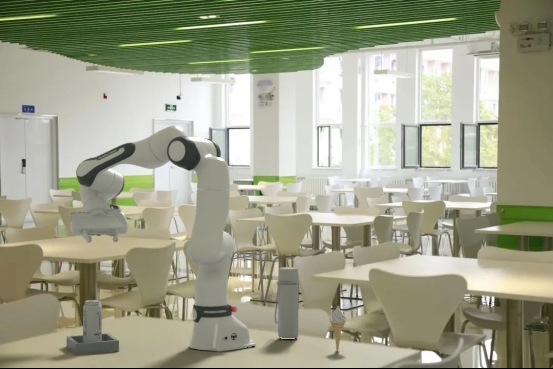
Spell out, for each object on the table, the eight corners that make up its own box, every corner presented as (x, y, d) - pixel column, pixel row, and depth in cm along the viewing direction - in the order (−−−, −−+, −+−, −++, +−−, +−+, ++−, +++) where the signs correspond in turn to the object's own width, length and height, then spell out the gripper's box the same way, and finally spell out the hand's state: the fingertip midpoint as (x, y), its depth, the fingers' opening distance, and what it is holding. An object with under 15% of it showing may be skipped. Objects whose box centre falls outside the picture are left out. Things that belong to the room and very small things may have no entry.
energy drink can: (98, 348, 260) (99, 302, 260) (80, 348, 260) (81, 302, 260) (103, 344, 266) (103, 299, 266) (85, 344, 266) (86, 299, 266)
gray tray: (108, 343, 272) (108, 333, 272) (118, 351, 260) (118, 340, 260) (66, 346, 266) (66, 336, 266) (75, 354, 254) (75, 343, 254)
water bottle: (302, 337, 286) (303, 267, 286) (291, 341, 279) (291, 269, 279) (280, 335, 290) (281, 266, 290) (269, 338, 284) (269, 268, 284)
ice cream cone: (336, 348, 268) (337, 303, 268) (349, 350, 264) (349, 305, 264) (325, 350, 264) (326, 305, 264) (338, 353, 260) (338, 307, 260)
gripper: (68, 206, 282) (74, 235, 273) (125, 206, 291) (132, 234, 282) (65, 218, 286) (71, 247, 277) (121, 218, 295) (128, 246, 286)
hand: (102, 241), depth 280 cm, fingers open, 8 cm apart
